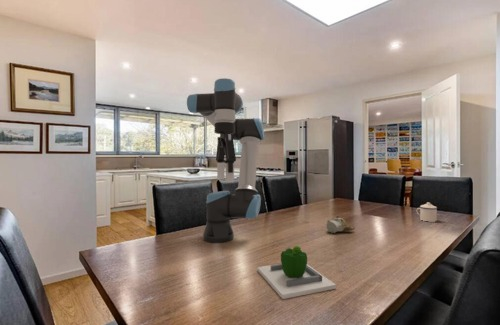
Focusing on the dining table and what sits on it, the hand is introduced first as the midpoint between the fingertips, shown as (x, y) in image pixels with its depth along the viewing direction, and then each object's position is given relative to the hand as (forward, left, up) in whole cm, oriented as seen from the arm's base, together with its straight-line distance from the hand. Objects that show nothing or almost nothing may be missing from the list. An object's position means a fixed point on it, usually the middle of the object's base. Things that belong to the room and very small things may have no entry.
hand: (225, 180), depth 96 cm
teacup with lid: (-27, +138, -32) cm, 144 cm away
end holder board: (+17, +19, -32) cm, 41 cm away
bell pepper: (+17, +19, -31) cm, 40 cm away
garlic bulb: (-25, +69, -32) cm, 80 cm away
